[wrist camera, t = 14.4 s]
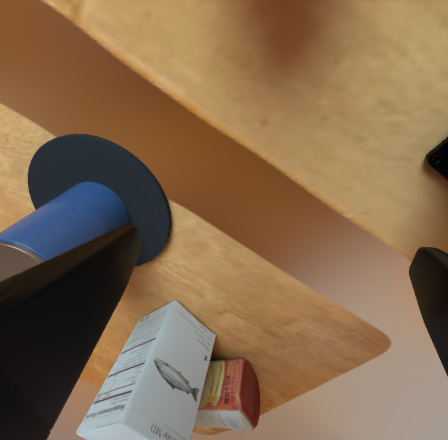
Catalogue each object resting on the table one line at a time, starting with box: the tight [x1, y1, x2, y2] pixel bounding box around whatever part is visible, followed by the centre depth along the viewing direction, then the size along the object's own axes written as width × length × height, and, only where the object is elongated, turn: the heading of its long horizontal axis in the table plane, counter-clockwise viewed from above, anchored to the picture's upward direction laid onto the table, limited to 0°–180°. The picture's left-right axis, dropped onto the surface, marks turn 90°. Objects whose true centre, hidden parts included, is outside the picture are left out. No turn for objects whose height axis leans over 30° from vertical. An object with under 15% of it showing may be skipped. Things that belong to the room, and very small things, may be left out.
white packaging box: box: [76, 300, 216, 440], centre depth 28 cm, size 7×7×13 cm
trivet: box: [28, 134, 171, 266], centre depth 26 cm, size 14×14×1 cm
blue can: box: [0, 182, 129, 281], centre depth 21 cm, size 6×6×9 cm
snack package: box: [194, 358, 260, 430], centre depth 36 cm, size 21×7×7 cm, turn 112°
